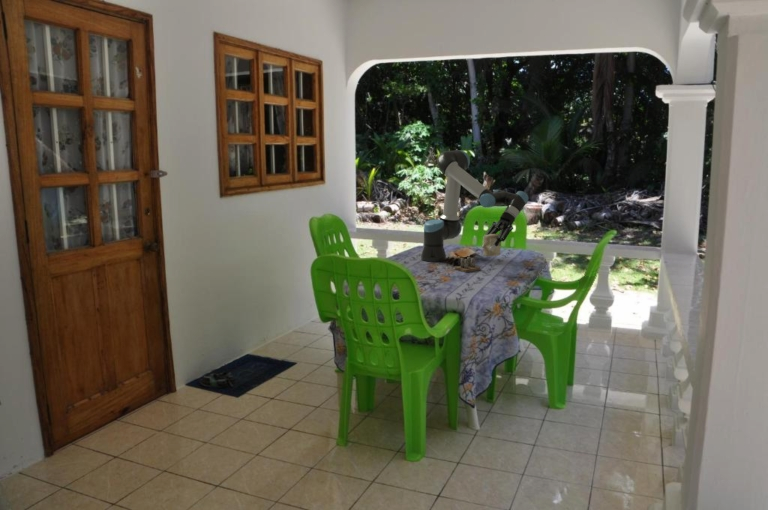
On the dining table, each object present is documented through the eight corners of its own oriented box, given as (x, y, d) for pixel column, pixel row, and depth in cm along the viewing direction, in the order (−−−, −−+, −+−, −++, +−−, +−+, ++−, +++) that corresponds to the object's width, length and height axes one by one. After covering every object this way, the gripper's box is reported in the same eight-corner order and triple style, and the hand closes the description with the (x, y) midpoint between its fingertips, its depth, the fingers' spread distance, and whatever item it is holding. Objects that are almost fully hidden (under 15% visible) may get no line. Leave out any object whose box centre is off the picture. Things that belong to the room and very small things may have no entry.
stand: (454, 269, 348) (454, 258, 347) (468, 266, 355) (469, 255, 353) (466, 272, 341) (466, 261, 340) (480, 269, 348) (480, 258, 346)
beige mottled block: (483, 255, 338) (483, 235, 336) (493, 253, 343) (494, 233, 341) (489, 256, 334) (490, 236, 332) (500, 254, 339) (501, 235, 337)
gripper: (525, 222, 337) (502, 256, 331) (500, 217, 351) (478, 250, 345) (519, 213, 333) (496, 247, 327) (494, 209, 347) (471, 241, 341)
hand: (487, 248), depth 336 cm, fingers closed on beige mottled block, 5 cm apart
